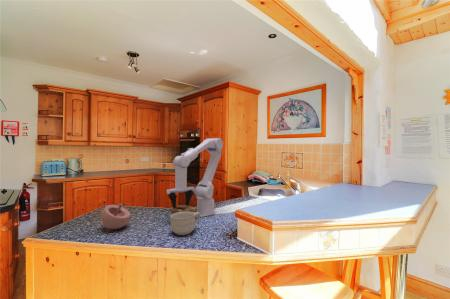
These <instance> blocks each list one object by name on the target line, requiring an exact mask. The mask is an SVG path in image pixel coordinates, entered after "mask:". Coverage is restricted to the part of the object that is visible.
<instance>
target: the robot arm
mask: <svg viewBox="0 0 450 299" xmlns="http://www.w3.org/2000/svg"><path fill="white" fill-rule="evenodd" d="M223 146H224V142H223V139H221V138H220V137H216V138H215V137H213V138H210V137H209V138H208V137H207V138H205V139H204V140H203V141H202V142H201V143H200V144H199V145H197V146H196V147H190V148H189V147H188V148H187V150H186V151H185V152H182V153H181V154H180V155H176V156H175V157H174V159H173V161H172V164H173V166H174V170H175V174H174V175H175V176H174V177H175V178H174V179H175V180H174V185H175V186H174V188H170V189H166V194H167V195H168V197H169V199H170V202H171V207H173V208H176V206H177V197H178V194H177V193H184V198H185V202H184V205H187V206H190V201H191V199H192V197H193V195H194V196H196V212H199V213H200V215H201V217H200V218H205V217H208V216H212V215H215V214H216V212H215V199H214V198H213V194H214V189H215V187H214V185H213V183H212V182H213V180H214V177H215V175H216V174H215V173H216V171H217V168H218V165H219V162H220V159H221V156H222V151H223ZM205 150H206V151H207V152H208V153H209V154H210V158H209V160H208V164H207V166H206V168H205V170H204V171H205V172H204V174H203V177H202V180H200V181H199V182H198V184H197V185H196V186H187V184H188V183H187V182H188V180H187V178H188V176H187V175H188V167H189V165H190V164H191V162H192V161H195V159H196V158H198V157H199V154H200V153H202V152H203V151H205ZM196 216H198V214H197V215H196Z"/></svg>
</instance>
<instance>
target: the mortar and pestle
mask: <svg viewBox="0 0 450 299" xmlns="http://www.w3.org/2000/svg"><path fill="white" fill-rule="evenodd" d="M131 216H132V215H131V211H129V210H128V209H126V208H125V207H123V204H122V203H121V202H120V203H118V205H117V204H107V205H106V206H105V207H104V208H103V209H102V211H101V214H100V221H101V224H102V225H103V226H104V227H105V228H107V229H109V230H119V229H121V228H123V227H124V226H126V224H128V222H129V221H130V219H131Z"/></svg>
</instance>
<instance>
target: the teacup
mask: <svg viewBox="0 0 450 299" xmlns="http://www.w3.org/2000/svg"><path fill="white" fill-rule="evenodd" d="M197 214H198V215H197ZM195 216H196V221H195ZM169 217H170V228H171V231H172V232H173V233H174V234H176V235H178V236H186V235H189V234H191V233H192V232H193V231H194V229H195V228H196V224H197V223H199V221H200V220H201V218H202V217H201V215H200V213H199V212H197V211H196V212H195V213H193V212H178V213H174V214H172V215H171V214H170V216H169Z"/></svg>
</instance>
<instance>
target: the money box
mask: <svg viewBox="0 0 450 299" xmlns="http://www.w3.org/2000/svg"><path fill="white" fill-rule="evenodd" d="M178 209H182V210H181V211H180V210H178ZM178 212H193V213H195V212H197V207H194V206H192V205H189V206H187V205H186V204H182V205H176V208H173V207H172V206H171V207H170V216H171V215H172V214H174V213H178ZM196 220H197V215H196V216H195V221H196Z"/></svg>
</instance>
